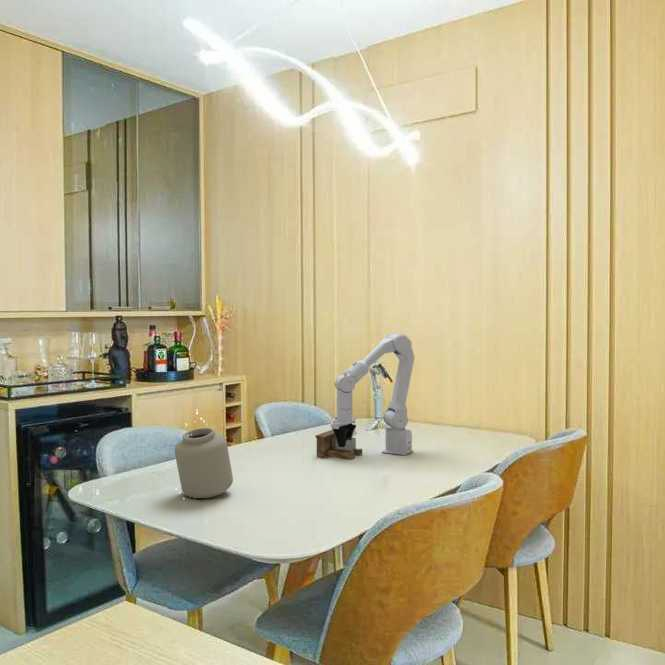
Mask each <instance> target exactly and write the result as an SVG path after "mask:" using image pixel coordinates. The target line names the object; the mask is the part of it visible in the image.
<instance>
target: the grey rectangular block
mask: <svg viewBox="0 0 665 665" xmlns="http://www.w3.org/2000/svg"><path fill="white" fill-rule="evenodd" d="M356 449H357V437H352V438H350V437H346V440H345V446H344V447H339V446H338V442H337V438H336V437H334V438H331V450H332V451H341V452H350V453H354V456H357V455H356Z"/></svg>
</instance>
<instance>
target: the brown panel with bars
mask: <svg viewBox="0 0 665 665" xmlns="http://www.w3.org/2000/svg"><path fill="white" fill-rule="evenodd" d="M334 437H336V435H335V433H334V431H333V429H332V428H331V429H329V430H328V431H325V432H322V433H319V434H316V435H315V439H316V458H320V457H321V458H322V459H325V458H327V457H328V456H329V458H336V459H337V458H338V459H347V460H354V459H355V456H363V449H361V448H356V455H354V453H350V452H341V451H332V450H331V438H334Z"/></svg>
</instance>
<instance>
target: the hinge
mask: <svg viewBox="0 0 665 665" xmlns="http://www.w3.org/2000/svg"><path fill="white" fill-rule="evenodd" d="M335 419H337V416H336V417H333V419H332V420H331V422H330V426H331V430H332V429H333V423H335V422H334V420H335ZM356 435H357V430H356V429H355V430H354V432H353V435H352V438H354V436H356Z"/></svg>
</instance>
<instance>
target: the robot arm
mask: <svg viewBox="0 0 665 665" xmlns="http://www.w3.org/2000/svg"><path fill="white" fill-rule="evenodd" d="M412 344H413V343H412V341H411V339H410V338H409V337H408V336H407V335H405V334H404V333H401V334H399V333H398V334H397V333H388V334H387V336H386V337H384V338H382V339H381V340H380V342H379V343H378V344H377V345H376V346H375V348H373V349H372V350H371V351H370V352H369V354H367V355H366V357H364V359H362V360H357V361H353V362H352V365H351V366H350V367H349V368H348V369H347V370H345V371H343V372H342V374H341V375H338V377H336V378H335V382H333V383H334V387H335V388H336V417H337V419H335V420H334V422H335V423H333V431H334V433H335V435H336V438H337V442H338V446H339V447H344V446H345V440H346V437H350V438H353V437H352V435H353V432H354V430H356V429H357V424H355V423H356V417H353V390H354V389H355V387H356V384H357V383H358V382H359V381H360V380H362V379H363V378H364V376H366V375H367V374H368V373H369V371H370V366H372V365H373V364H375V362H377V361H378V360H379V359H381V357H383V356H384V355H385V354H391V353H393V354H394V355H395V357H397V359H398V360H399V362H398V367H397V370H396V371H397V372H396V376H395V381H394V386H393V391H392V395H391V396H392V397H391V401H390V402H389V403H388V405H387V407H386V410H385V411H384V414H383V421H384V423H385V424H386V425H385V449H383V450H381V453H384V454H385V453H386V454H391V455H400V456H407V455H408V454H410V453H412V452H413V433H412V430H411V429H407V428H406V426H407V425H408V422H409V418H408V407H407V405H406V404H407V403H406V402H407V397H408V392H409V388H410V382H411V378H412V373H413V367H414V363H415V353H414V351H413V346H412Z"/></svg>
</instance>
